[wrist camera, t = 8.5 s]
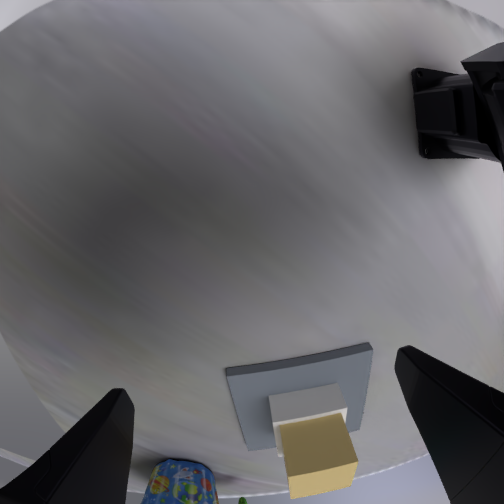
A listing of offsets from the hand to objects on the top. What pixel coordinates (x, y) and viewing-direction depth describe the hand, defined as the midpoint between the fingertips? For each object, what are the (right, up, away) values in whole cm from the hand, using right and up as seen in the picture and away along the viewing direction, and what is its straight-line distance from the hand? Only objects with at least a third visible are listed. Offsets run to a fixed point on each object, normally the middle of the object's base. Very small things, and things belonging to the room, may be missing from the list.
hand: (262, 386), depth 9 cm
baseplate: (+4, -10, +17) cm, 20 cm away
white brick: (+4, -10, +16) cm, 20 cm away
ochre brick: (+5, -11, +13) cm, 18 cm away
